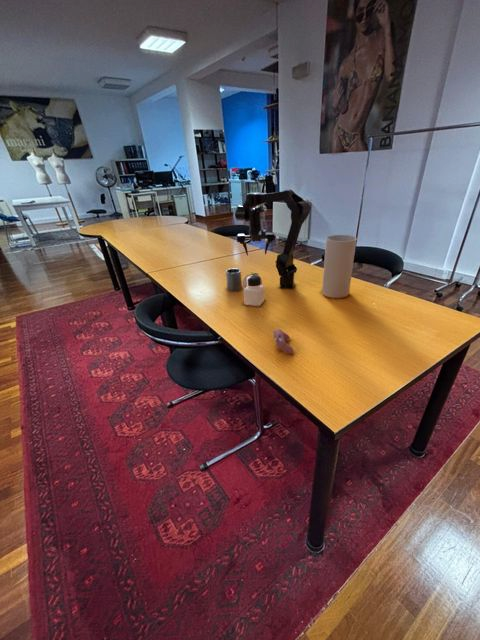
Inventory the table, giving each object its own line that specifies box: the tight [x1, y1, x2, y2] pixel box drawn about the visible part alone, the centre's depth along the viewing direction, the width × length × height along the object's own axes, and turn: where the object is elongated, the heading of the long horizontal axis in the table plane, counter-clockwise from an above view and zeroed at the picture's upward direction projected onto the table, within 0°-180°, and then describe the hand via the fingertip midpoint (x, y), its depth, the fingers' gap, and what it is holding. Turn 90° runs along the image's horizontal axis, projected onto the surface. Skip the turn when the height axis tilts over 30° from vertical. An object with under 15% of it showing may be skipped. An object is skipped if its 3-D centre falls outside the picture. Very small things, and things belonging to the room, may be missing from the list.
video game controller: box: [272, 329, 294, 355], centre depth 99 cm, size 10×5×7 cm, turn 5°
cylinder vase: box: [321, 234, 358, 299], centre depth 132 cm, size 12×12×25 cm
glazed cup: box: [225, 267, 243, 292], centre depth 145 cm, size 7×7×9 cm
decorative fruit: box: [242, 272, 263, 289], centre depth 140 cm, size 9×8×10 cm
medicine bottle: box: [243, 275, 265, 307], centre depth 129 cm, size 7×7×12 cm
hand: (256, 254), depth 151 cm, fingers open, 9 cm apart
